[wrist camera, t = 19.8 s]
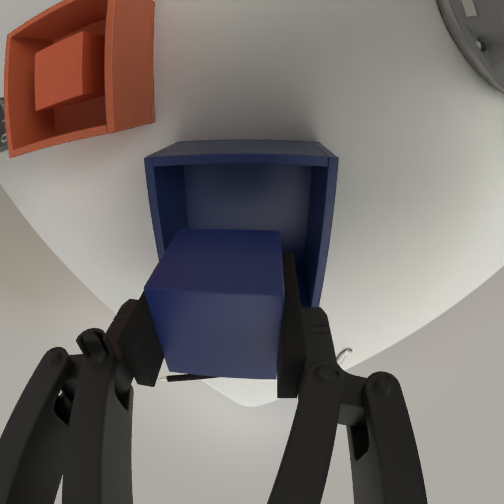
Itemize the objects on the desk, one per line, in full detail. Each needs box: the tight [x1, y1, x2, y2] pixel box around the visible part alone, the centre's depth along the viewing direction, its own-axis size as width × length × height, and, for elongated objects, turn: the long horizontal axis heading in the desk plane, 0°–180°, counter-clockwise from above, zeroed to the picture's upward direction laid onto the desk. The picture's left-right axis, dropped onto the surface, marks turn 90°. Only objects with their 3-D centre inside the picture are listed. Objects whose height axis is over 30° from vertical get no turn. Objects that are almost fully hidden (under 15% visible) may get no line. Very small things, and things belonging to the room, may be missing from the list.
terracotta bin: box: [4, 0, 155, 158], centre depth 15 cm, size 11×11×7 cm
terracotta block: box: [35, 31, 105, 111], centre depth 15 cm, size 5×5×5 cm
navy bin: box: [144, 139, 339, 307], centre depth 20 cm, size 11×11×7 cm
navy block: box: [144, 229, 285, 379], centre depth 13 cm, size 5×5×5 cm
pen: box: [159, 374, 216, 382], centre depth 34 cm, size 1×19×1 cm
